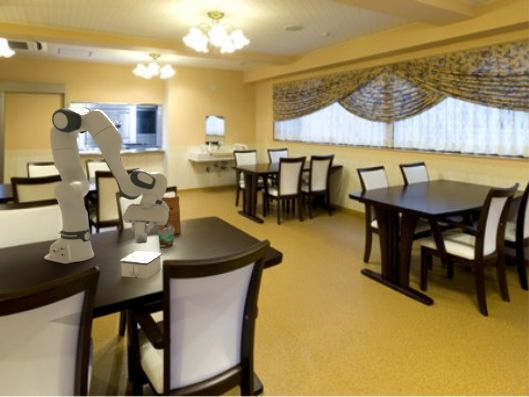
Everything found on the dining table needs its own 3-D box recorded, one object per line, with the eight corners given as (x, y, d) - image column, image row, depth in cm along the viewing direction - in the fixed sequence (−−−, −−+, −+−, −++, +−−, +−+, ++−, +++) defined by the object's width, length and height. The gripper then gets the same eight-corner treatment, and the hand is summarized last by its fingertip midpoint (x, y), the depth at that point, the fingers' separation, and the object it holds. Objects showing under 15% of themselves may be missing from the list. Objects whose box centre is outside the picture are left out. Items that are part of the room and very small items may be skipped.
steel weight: (133, 243, 169) (131, 222, 167) (139, 239, 174) (137, 220, 172) (143, 243, 168) (142, 223, 166) (149, 240, 173) (148, 220, 171)
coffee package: (159, 231, 238) (157, 195, 234) (179, 229, 242) (178, 194, 238) (160, 235, 229) (158, 198, 225) (181, 233, 233) (180, 197, 229)
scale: (121, 276, 168) (120, 263, 167) (137, 266, 180) (136, 253, 179) (146, 279, 165) (146, 265, 164) (160, 268, 177) (160, 256, 176)
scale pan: (119, 262, 167) (119, 260, 166) (135, 252, 179) (135, 250, 179) (147, 264, 164) (147, 263, 164) (161, 254, 176) (161, 253, 176)
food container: (169, 249, 204) (168, 231, 202) (158, 248, 205) (157, 230, 203) (178, 242, 216) (178, 225, 214) (168, 242, 217) (167, 224, 215)
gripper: (126, 199, 177) (115, 226, 169) (168, 202, 172) (158, 229, 165) (132, 207, 182) (121, 233, 174) (172, 209, 177) (163, 236, 170)
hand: (139, 231), depth 169 cm, fingers closed on steel weight, 5 cm apart
